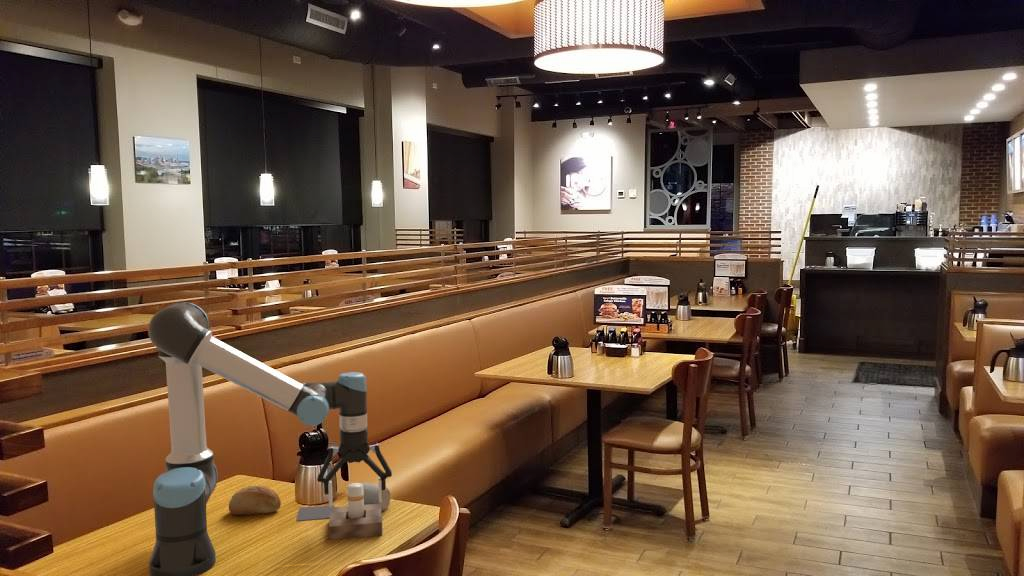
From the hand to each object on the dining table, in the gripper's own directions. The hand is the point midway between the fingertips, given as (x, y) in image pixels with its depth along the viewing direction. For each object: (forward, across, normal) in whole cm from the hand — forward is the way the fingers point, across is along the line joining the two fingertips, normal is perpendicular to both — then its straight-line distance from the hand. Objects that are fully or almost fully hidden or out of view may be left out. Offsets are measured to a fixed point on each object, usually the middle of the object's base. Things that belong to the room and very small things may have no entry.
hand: (355, 503), depth 206 cm
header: (+7, 0, 0) cm, 7 cm away
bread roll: (+8, -30, +18) cm, 36 cm away
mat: (+7, -12, +13) cm, 19 cm away
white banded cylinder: (+7, 0, 0) cm, 7 cm away
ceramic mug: (+8, +5, +14) cm, 17 cm away
